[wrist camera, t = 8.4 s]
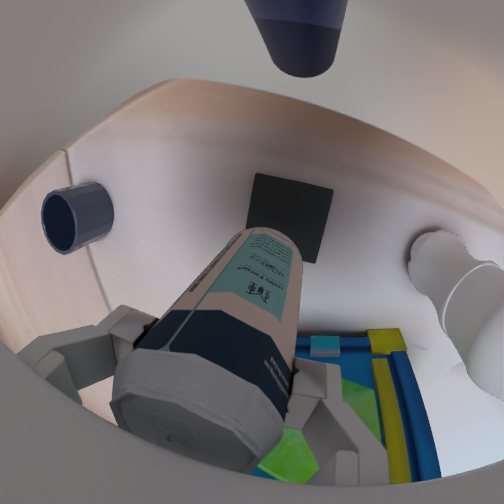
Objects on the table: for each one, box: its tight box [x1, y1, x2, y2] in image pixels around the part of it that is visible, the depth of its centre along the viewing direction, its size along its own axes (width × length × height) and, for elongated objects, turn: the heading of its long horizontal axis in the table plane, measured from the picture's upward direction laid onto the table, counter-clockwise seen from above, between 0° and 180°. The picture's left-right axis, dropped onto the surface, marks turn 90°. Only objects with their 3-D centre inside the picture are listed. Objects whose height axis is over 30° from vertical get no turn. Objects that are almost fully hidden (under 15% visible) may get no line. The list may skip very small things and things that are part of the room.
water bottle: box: [408, 230, 504, 400], centre depth 14 cm, size 7×7×25 cm
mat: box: [246, 173, 333, 264], centre depth 28 cm, size 8×8×1 cm
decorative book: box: [251, 329, 442, 485], centre depth 19 cm, size 14×23×30 cm, turn 94°
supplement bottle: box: [109, 227, 303, 475], centre depth 11 cm, size 5×5×12 cm
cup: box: [41, 183, 114, 255], centre depth 30 cm, size 8×8×7 cm
